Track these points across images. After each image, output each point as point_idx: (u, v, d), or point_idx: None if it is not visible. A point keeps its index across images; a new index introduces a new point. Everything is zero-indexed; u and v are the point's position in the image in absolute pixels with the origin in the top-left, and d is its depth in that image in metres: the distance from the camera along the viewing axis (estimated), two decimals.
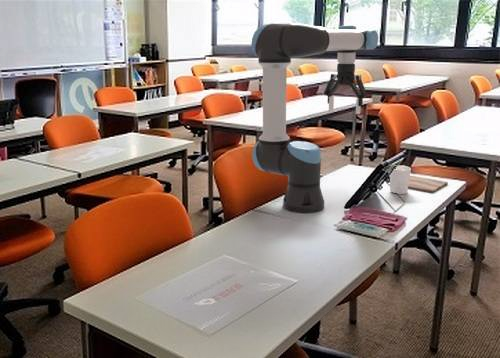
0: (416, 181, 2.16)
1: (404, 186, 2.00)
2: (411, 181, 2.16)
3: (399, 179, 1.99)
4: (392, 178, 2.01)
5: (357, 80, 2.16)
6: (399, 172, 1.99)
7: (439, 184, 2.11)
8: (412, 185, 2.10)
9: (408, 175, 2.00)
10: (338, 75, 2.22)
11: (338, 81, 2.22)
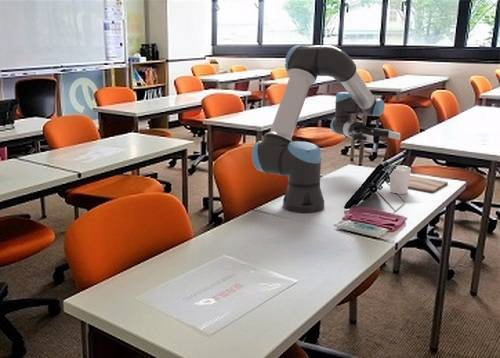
0: (416, 181, 2.16)
1: (404, 186, 2.00)
2: (411, 181, 2.16)
3: (399, 179, 1.99)
4: (392, 178, 2.01)
5: (377, 128, 2.22)
6: (399, 172, 1.99)
7: (439, 184, 2.11)
8: (412, 185, 2.10)
9: (408, 175, 2.00)
10: (357, 130, 2.20)
11: (361, 129, 2.18)
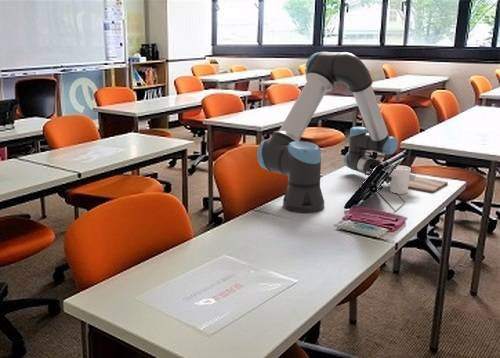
0: (416, 181, 2.16)
1: (404, 186, 2.00)
2: (411, 181, 2.16)
3: (399, 179, 1.99)
4: None
5: None
6: (399, 172, 1.99)
7: (439, 184, 2.11)
8: (412, 185, 2.10)
9: (408, 175, 2.00)
10: (372, 167, 2.13)
11: None
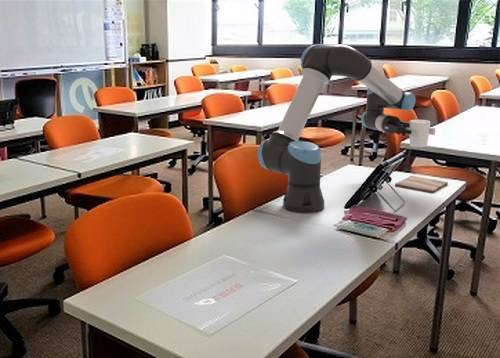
0: (416, 181, 2.16)
1: (424, 139, 2.01)
2: (411, 181, 2.16)
3: (419, 132, 2.00)
4: None
5: None
6: (419, 125, 1.99)
7: (439, 184, 2.11)
8: (412, 185, 2.10)
9: (428, 128, 2.00)
10: (390, 123, 2.14)
11: (397, 123, 2.12)
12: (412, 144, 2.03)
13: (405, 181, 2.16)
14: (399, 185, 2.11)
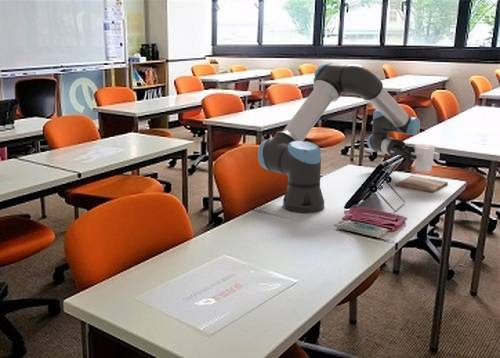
0: (416, 181, 2.16)
1: (428, 164, 2.08)
2: (411, 181, 2.16)
3: (424, 157, 2.07)
4: None
5: None
6: (424, 150, 2.06)
7: (439, 184, 2.11)
8: (412, 185, 2.10)
9: (432, 153, 2.07)
10: (396, 147, 2.21)
11: (402, 147, 2.19)
12: (417, 168, 2.10)
13: (405, 181, 2.16)
14: (399, 185, 2.11)
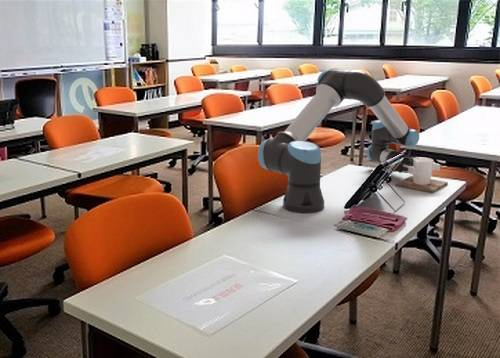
0: None
1: (427, 177, 2.09)
2: (411, 181, 2.16)
3: (422, 170, 2.08)
4: (415, 169, 2.10)
5: None
6: (422, 164, 2.07)
7: (439, 184, 2.11)
8: (412, 185, 2.10)
9: (431, 166, 2.08)
10: None
11: None
12: (415, 181, 2.11)
13: (405, 181, 2.16)
14: (399, 185, 2.11)
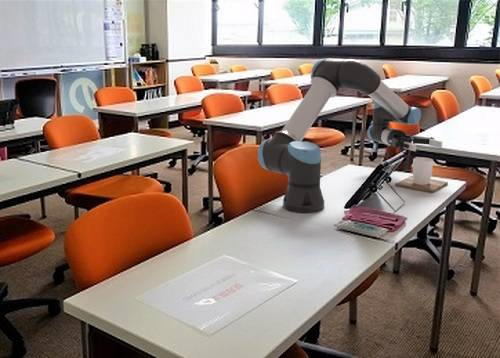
0: None
1: (427, 177, 2.09)
2: (411, 181, 2.16)
3: (422, 170, 2.08)
4: (415, 169, 2.10)
5: (416, 136, 2.22)
6: (422, 164, 2.07)
7: (439, 184, 2.11)
8: (412, 185, 2.10)
9: (431, 166, 2.08)
10: (396, 137, 2.20)
11: (401, 137, 2.17)
12: (415, 181, 2.11)
13: (405, 181, 2.16)
14: (399, 185, 2.11)
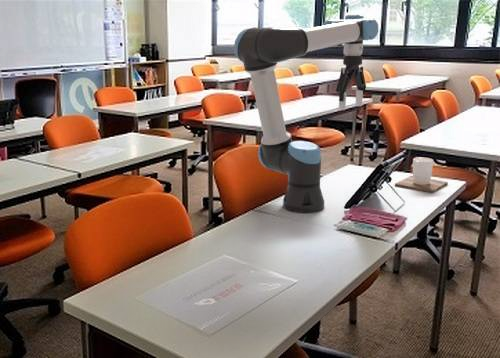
0: None
1: (427, 177, 2.09)
2: (411, 181, 2.16)
3: (422, 170, 2.08)
4: (415, 169, 2.10)
5: None
6: (422, 164, 2.07)
7: (439, 184, 2.11)
8: (412, 185, 2.10)
9: (431, 166, 2.08)
10: None
11: None
12: (415, 181, 2.11)
13: (405, 181, 2.16)
14: (399, 185, 2.11)
